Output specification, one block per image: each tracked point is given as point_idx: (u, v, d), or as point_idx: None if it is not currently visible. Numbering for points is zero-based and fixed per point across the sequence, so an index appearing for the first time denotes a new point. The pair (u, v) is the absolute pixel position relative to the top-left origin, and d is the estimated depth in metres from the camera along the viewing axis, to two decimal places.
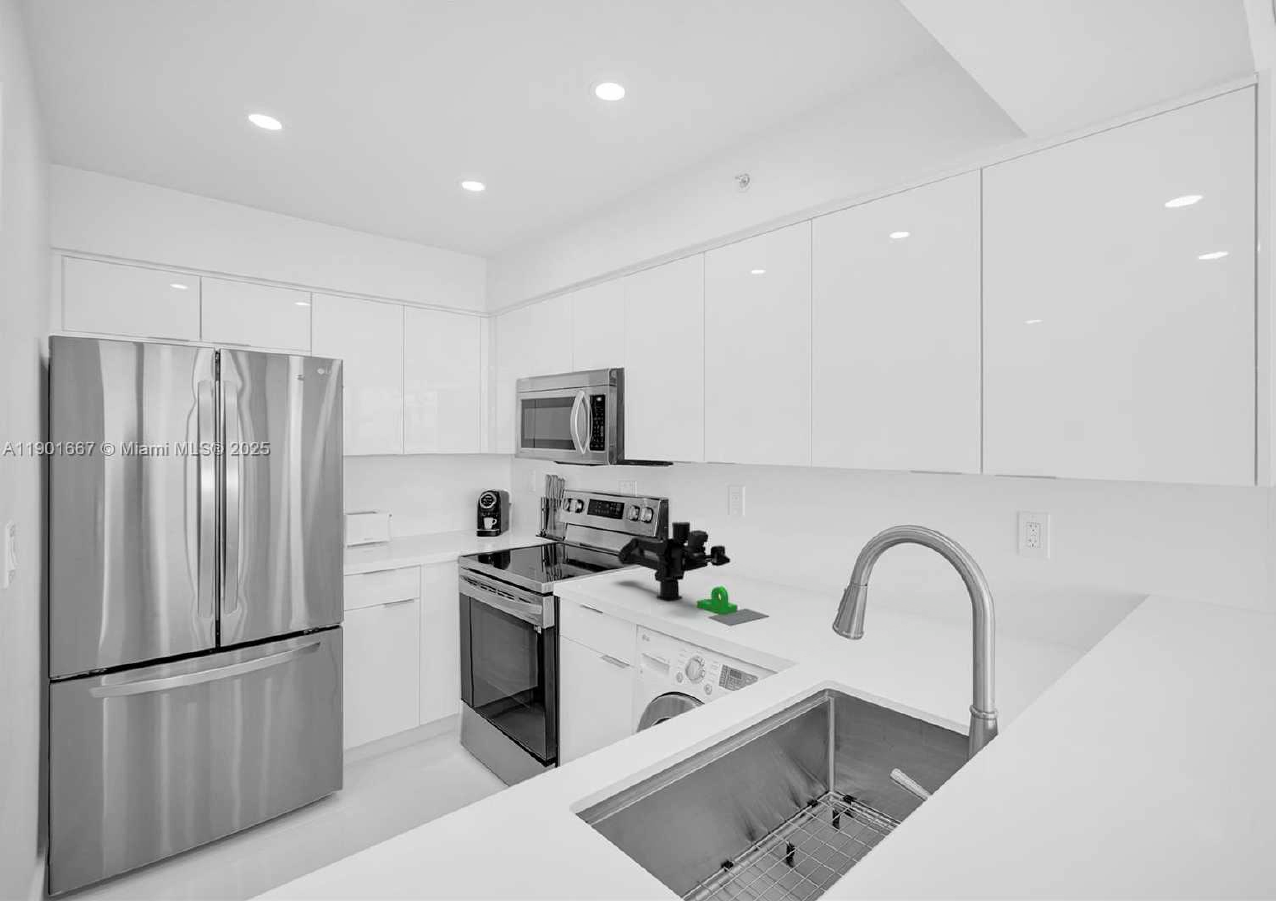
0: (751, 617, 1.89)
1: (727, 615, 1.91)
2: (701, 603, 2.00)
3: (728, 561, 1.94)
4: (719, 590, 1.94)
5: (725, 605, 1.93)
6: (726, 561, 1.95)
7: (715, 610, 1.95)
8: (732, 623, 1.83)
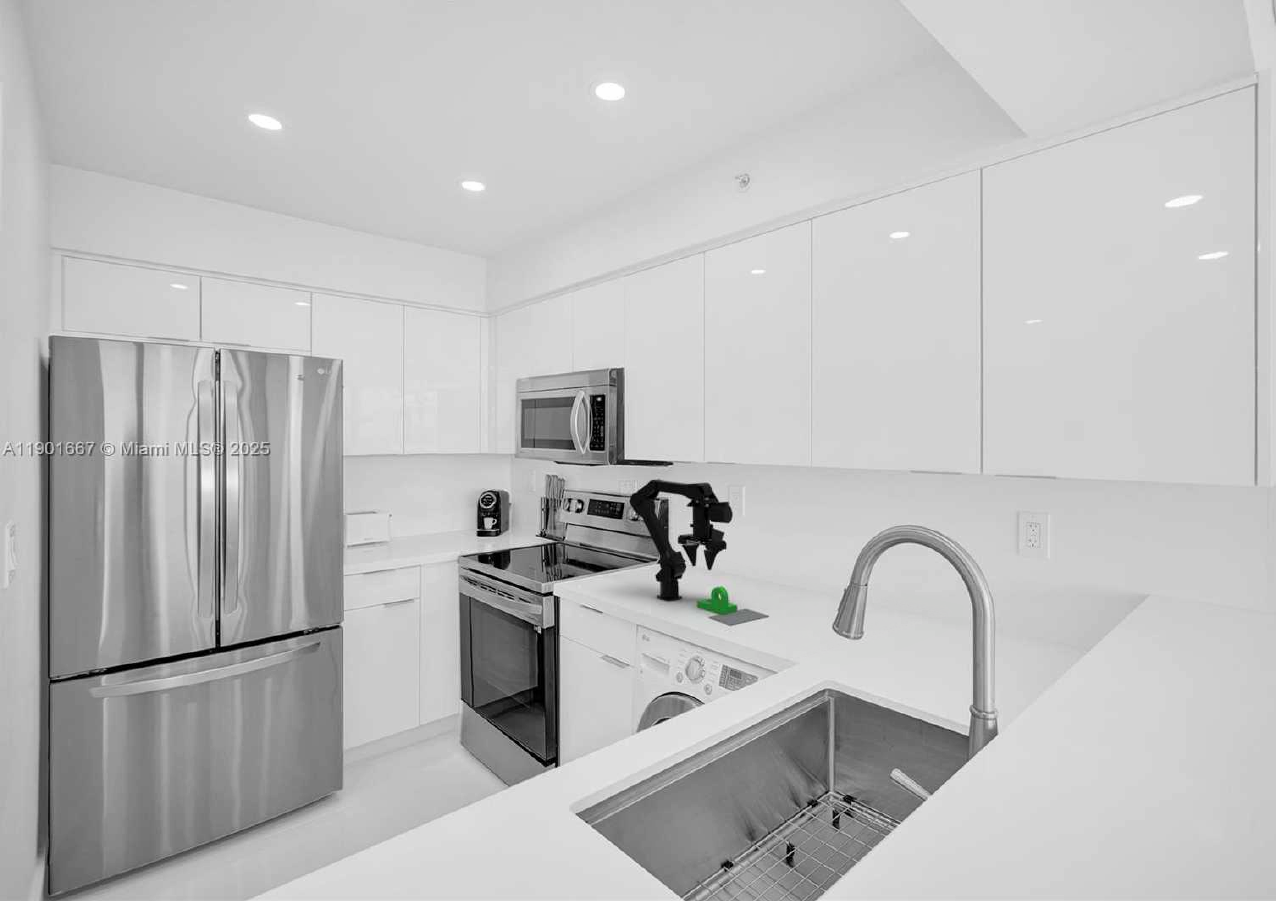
0: (751, 617, 1.89)
1: (727, 615, 1.91)
2: (701, 603, 2.00)
3: (693, 565, 2.08)
4: (719, 590, 1.94)
5: (725, 605, 1.93)
6: (693, 562, 2.07)
7: (715, 610, 1.95)
8: (732, 623, 1.83)
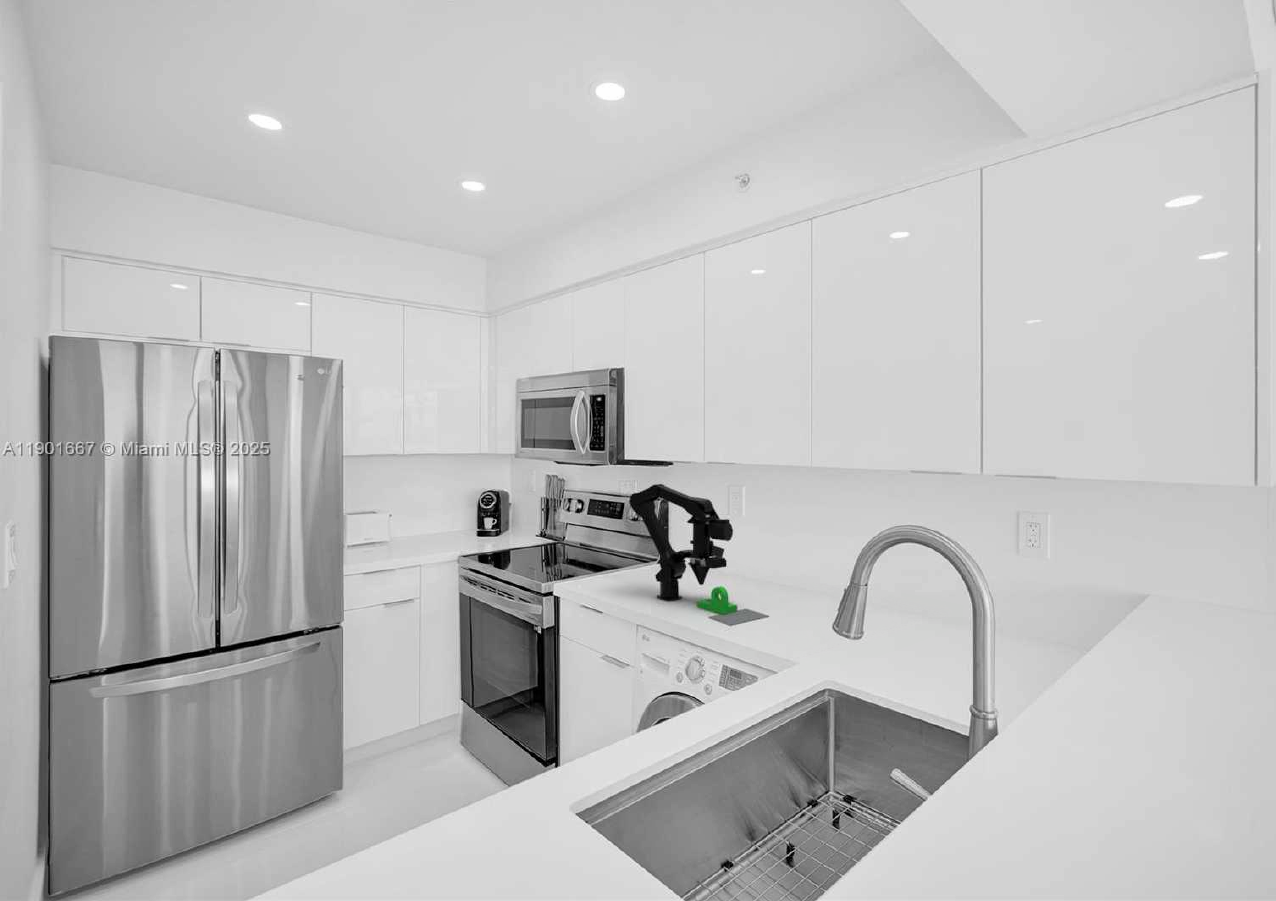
0: (751, 617, 1.89)
1: (727, 615, 1.91)
2: (701, 603, 2.00)
3: None
4: (719, 590, 1.94)
5: (725, 605, 1.93)
6: None
7: (715, 610, 1.95)
8: (732, 623, 1.83)
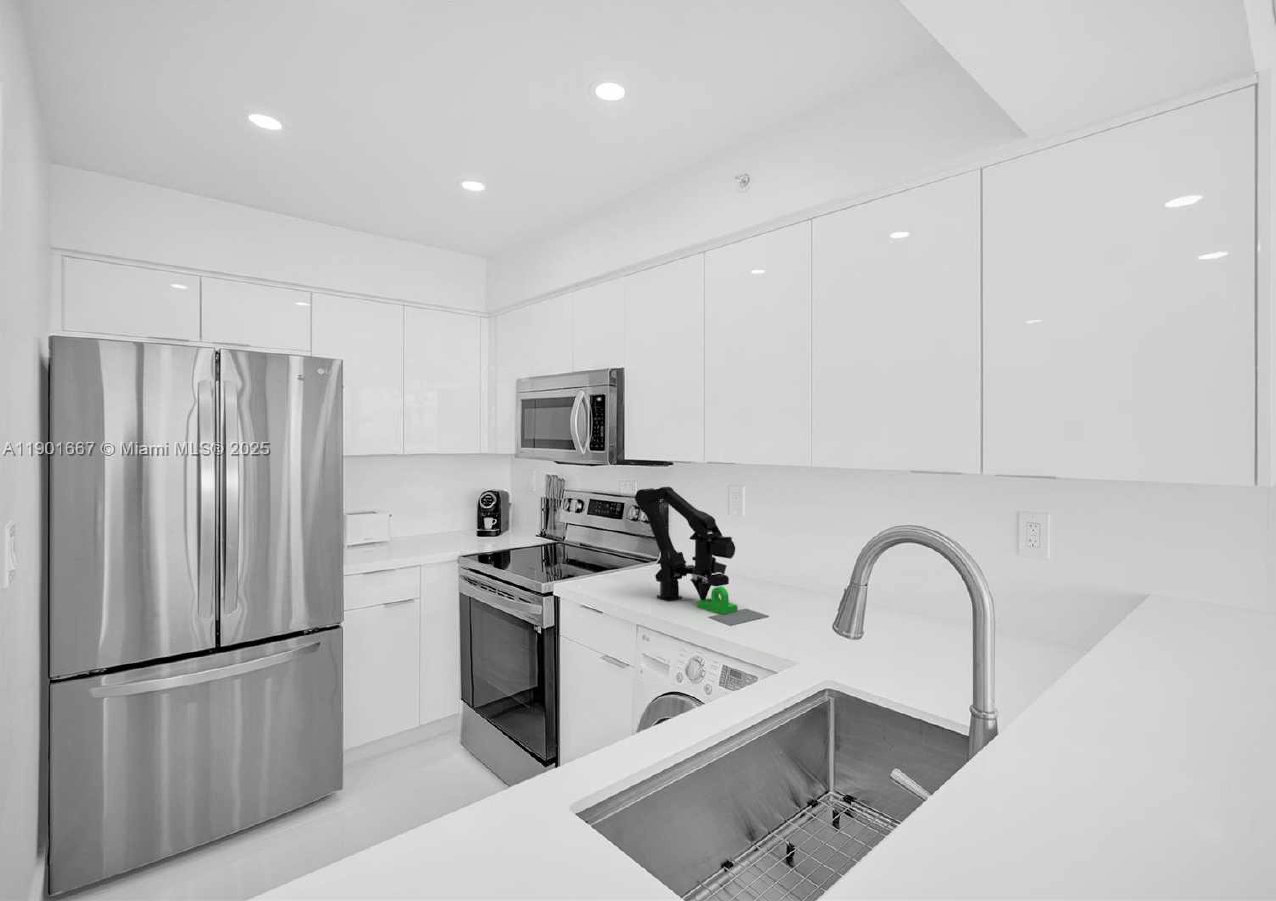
0: (751, 617, 1.89)
1: (727, 615, 1.91)
2: (701, 603, 2.00)
3: None
4: (719, 590, 1.93)
5: (725, 605, 1.93)
6: None
7: (715, 610, 1.95)
8: (732, 623, 1.83)
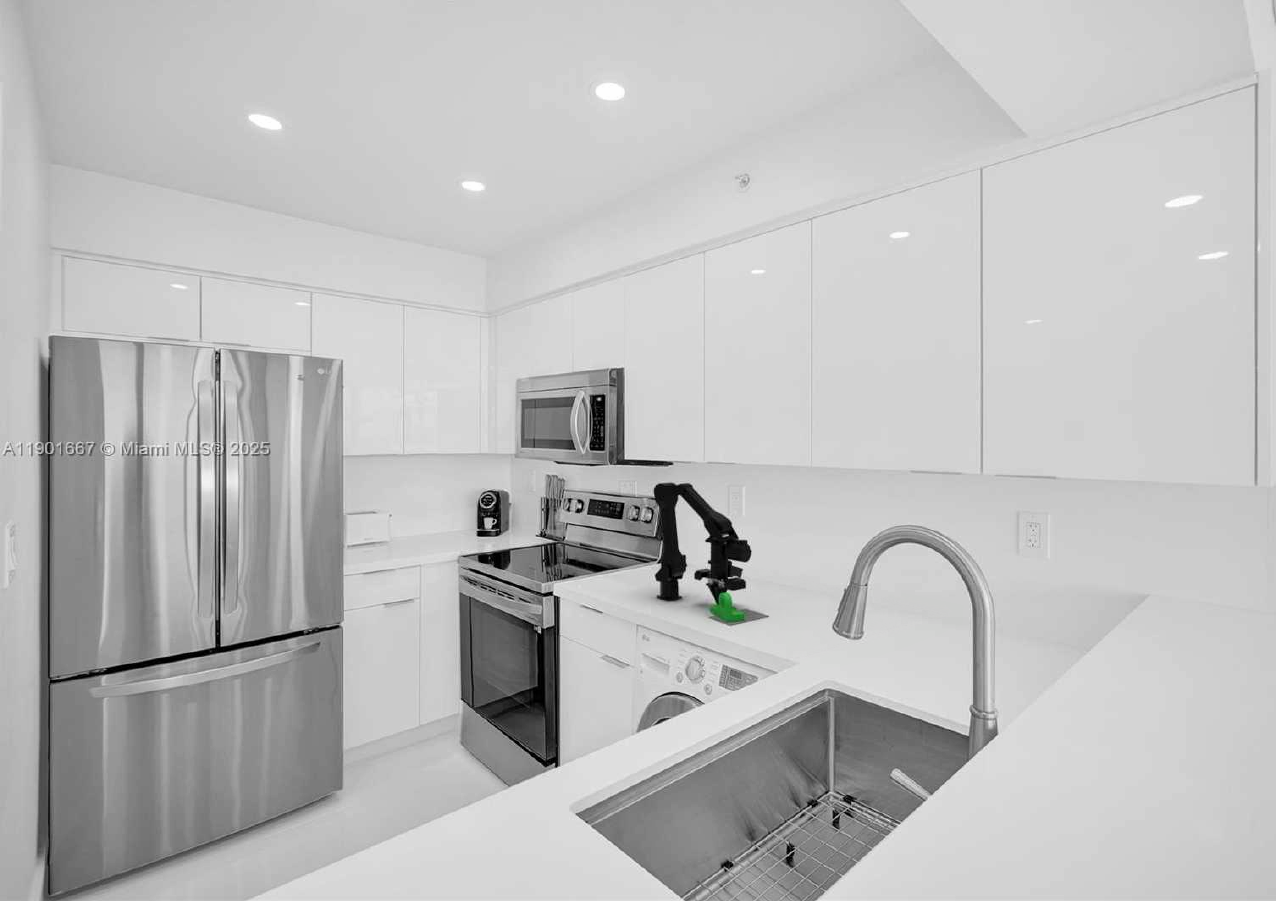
0: (751, 617, 1.89)
1: None
2: (712, 608, 1.94)
3: (718, 604, 1.98)
4: (723, 596, 1.86)
5: (728, 612, 1.85)
6: (718, 602, 1.98)
7: (721, 616, 1.88)
8: (732, 623, 1.83)
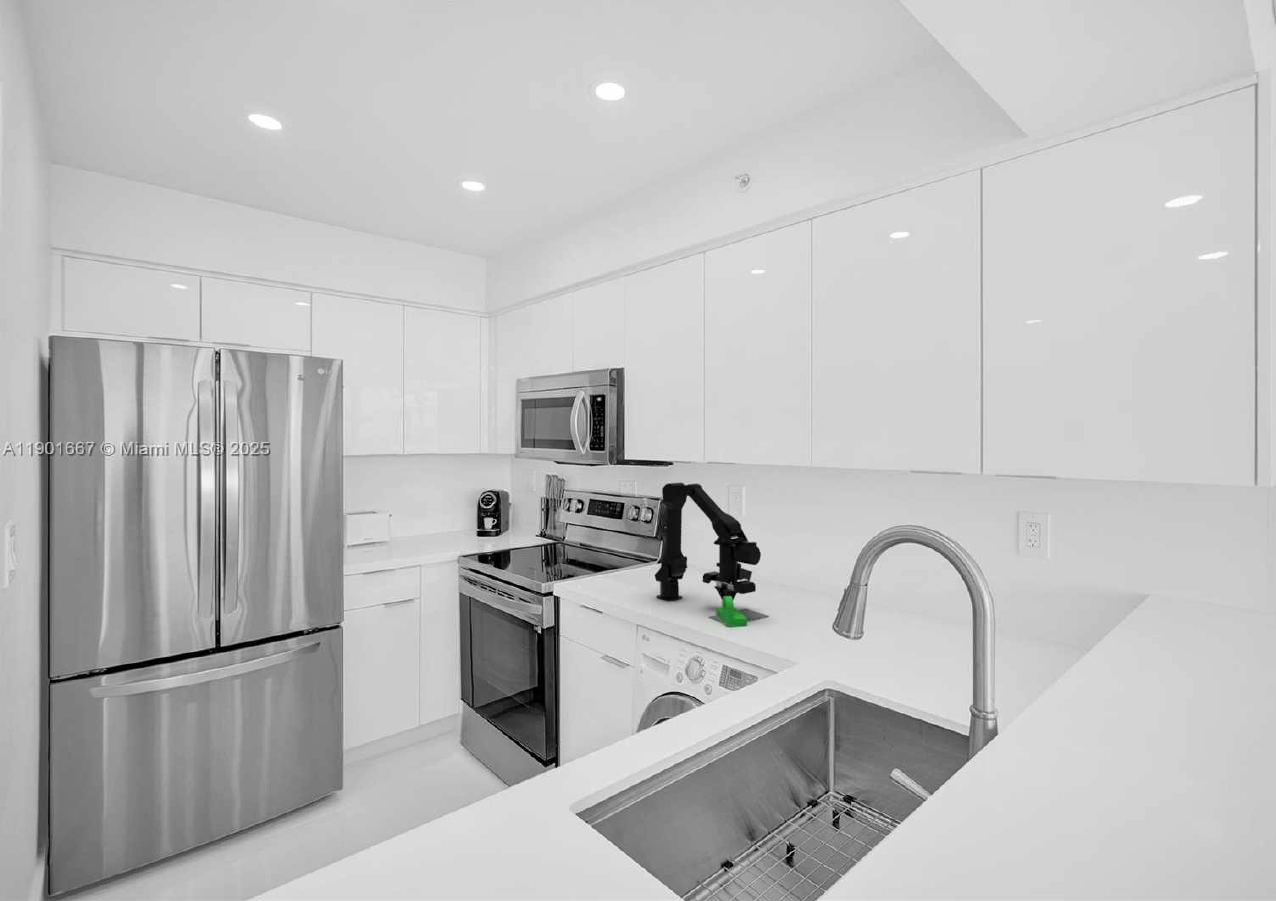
0: (751, 617, 1.89)
1: None
2: (718, 611, 1.91)
3: None
4: (725, 599, 1.82)
5: (729, 617, 1.81)
6: None
7: (723, 620, 1.84)
8: None
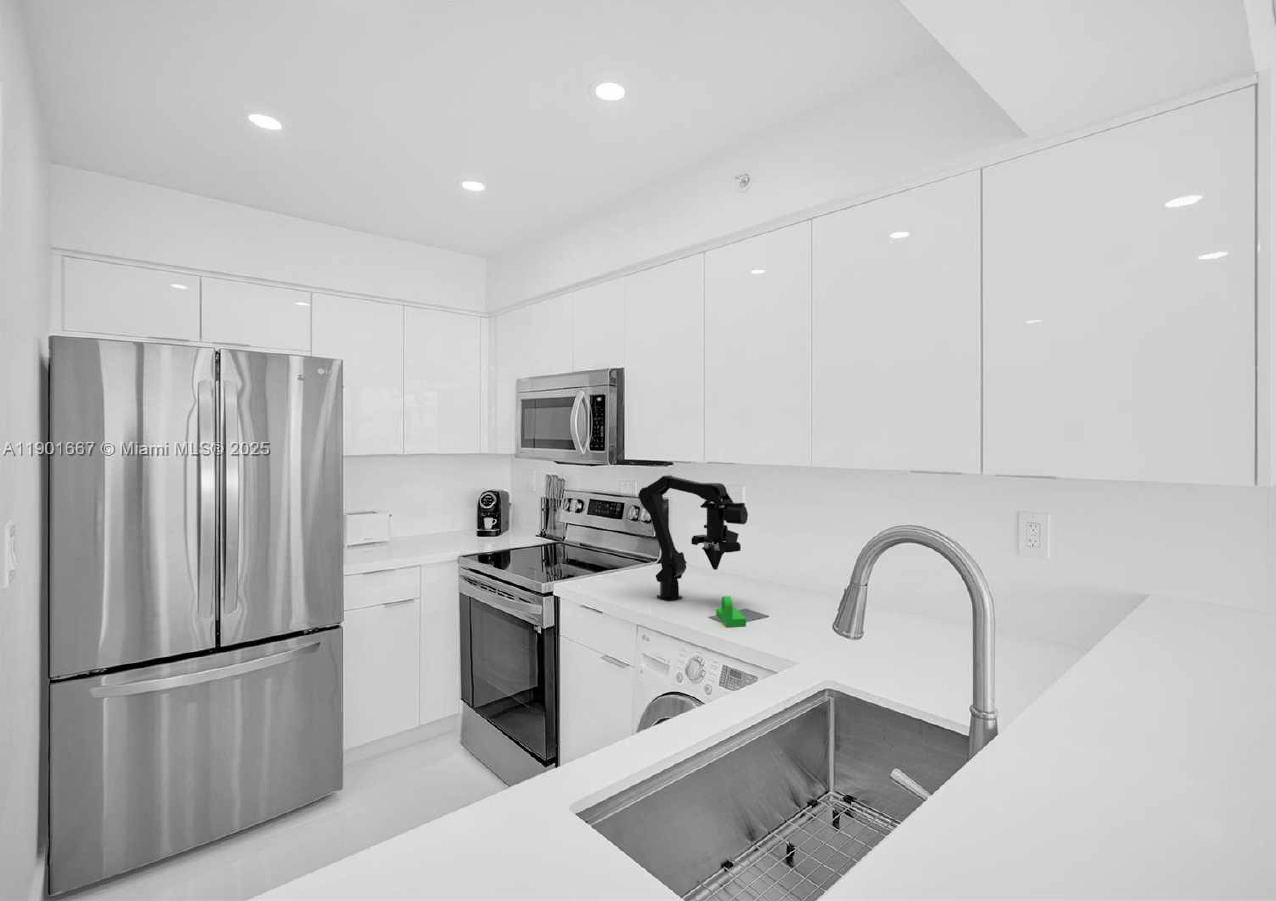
0: (751, 617, 1.89)
1: None
2: (717, 611, 1.91)
3: None
4: (724, 600, 1.82)
5: (728, 617, 1.81)
6: None
7: (722, 620, 1.84)
8: None
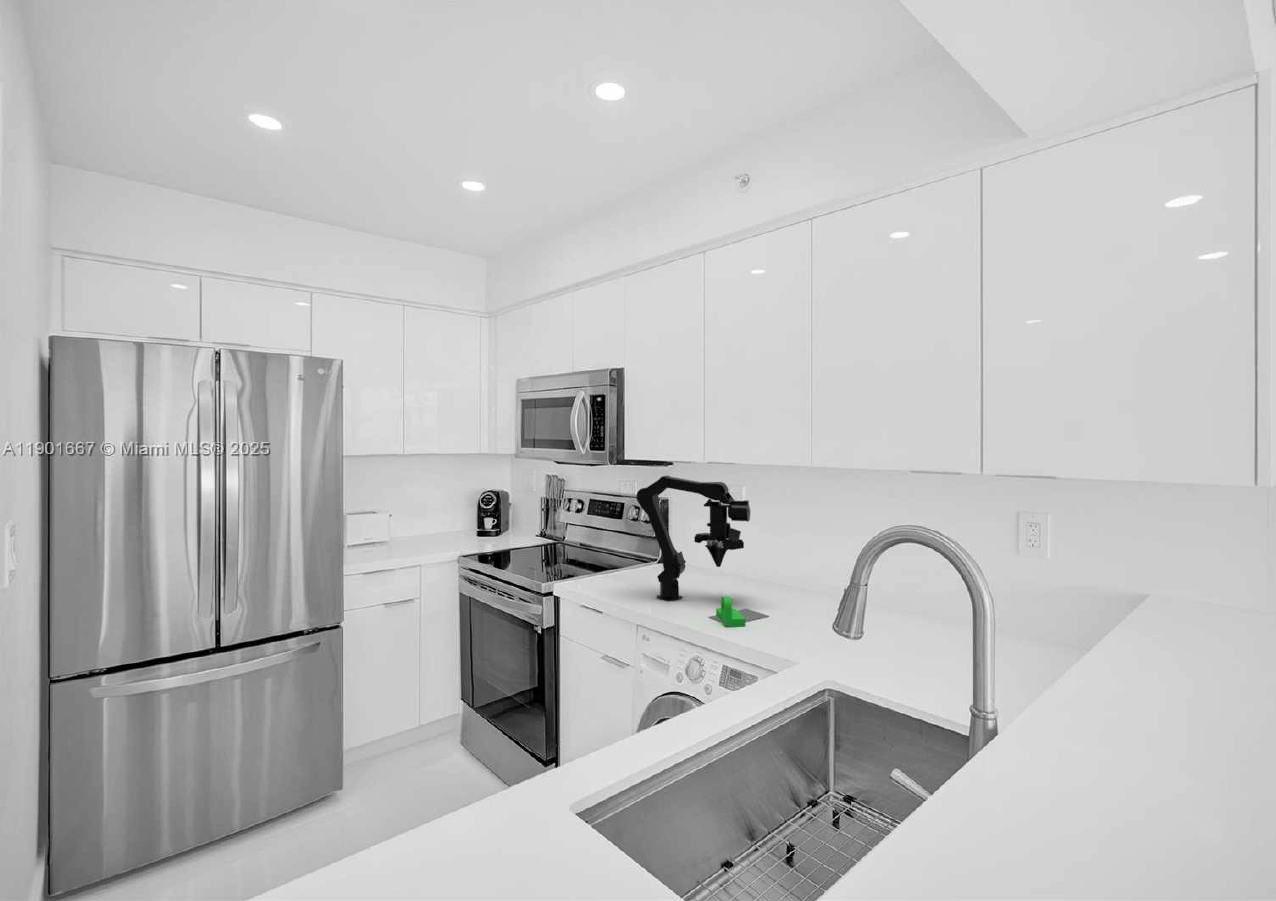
0: (751, 617, 1.89)
1: None
2: (717, 611, 1.91)
3: None
4: (723, 600, 1.82)
5: (727, 617, 1.81)
6: None
7: (722, 620, 1.84)
8: None
